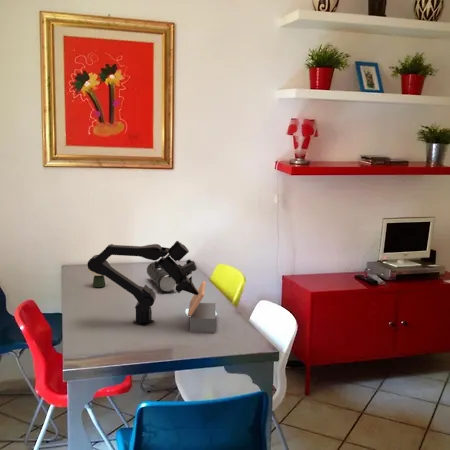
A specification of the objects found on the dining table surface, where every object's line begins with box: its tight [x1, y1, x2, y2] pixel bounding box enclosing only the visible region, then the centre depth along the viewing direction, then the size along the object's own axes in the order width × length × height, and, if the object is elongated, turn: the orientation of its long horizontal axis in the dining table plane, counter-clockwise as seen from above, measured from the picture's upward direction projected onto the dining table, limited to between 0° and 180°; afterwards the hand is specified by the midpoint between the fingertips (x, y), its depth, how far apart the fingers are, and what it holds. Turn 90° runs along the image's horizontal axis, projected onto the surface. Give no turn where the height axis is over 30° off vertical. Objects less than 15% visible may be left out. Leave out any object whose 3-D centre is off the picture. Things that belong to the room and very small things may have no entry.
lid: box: [187, 280, 207, 317], centre depth 222 cm, size 11×20×1 cm
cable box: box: [189, 302, 217, 334], centre depth 228 cm, size 10×29×6 cm, turn 0°
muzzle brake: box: [146, 261, 176, 292], centre depth 276 cm, size 10×28×10 cm, turn 21°
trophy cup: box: [87, 268, 106, 288], centre depth 272 cm, size 11×7×13 cm, turn 102°
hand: (197, 294), depth 222 cm, fingers closed, pressing on lid
